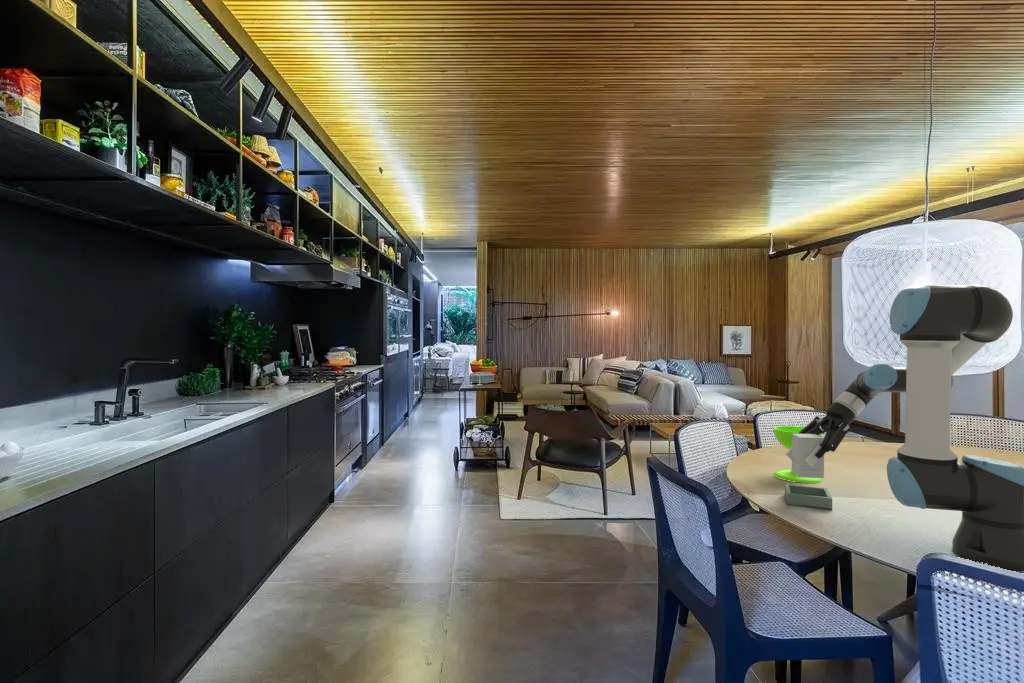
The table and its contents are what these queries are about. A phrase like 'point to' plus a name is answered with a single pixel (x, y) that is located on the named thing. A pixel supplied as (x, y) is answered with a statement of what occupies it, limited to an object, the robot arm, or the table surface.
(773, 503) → the table surface
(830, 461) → the table surface
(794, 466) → the supplement box
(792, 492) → the holder
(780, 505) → the table surface
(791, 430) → the wineglass
